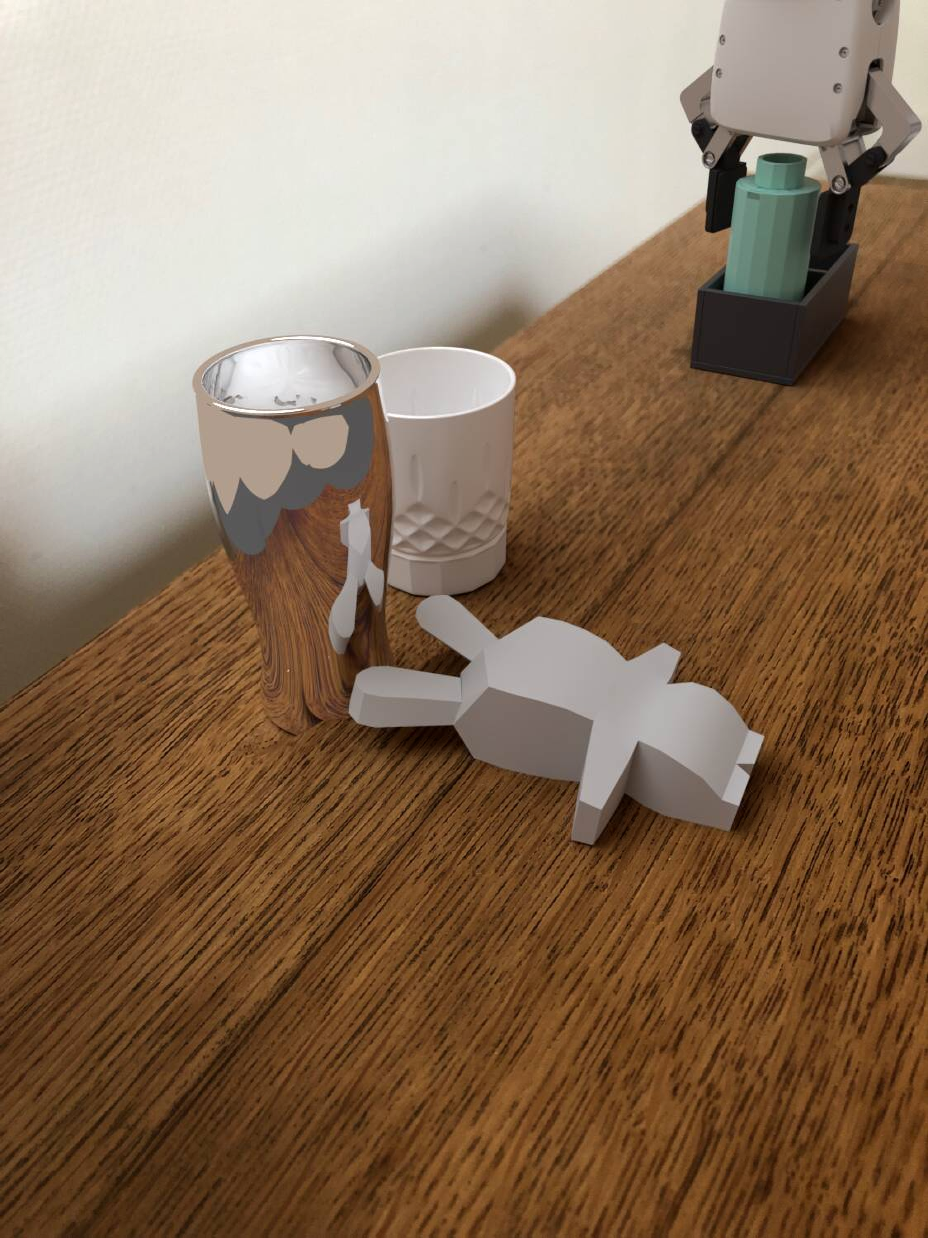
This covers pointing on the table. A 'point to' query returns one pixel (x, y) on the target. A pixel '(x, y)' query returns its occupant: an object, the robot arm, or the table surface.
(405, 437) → the white cup
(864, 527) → the table surface
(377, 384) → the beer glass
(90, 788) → the table surface
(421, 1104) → the table surface
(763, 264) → the bottle
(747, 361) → the holder
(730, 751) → the bunny figurine
